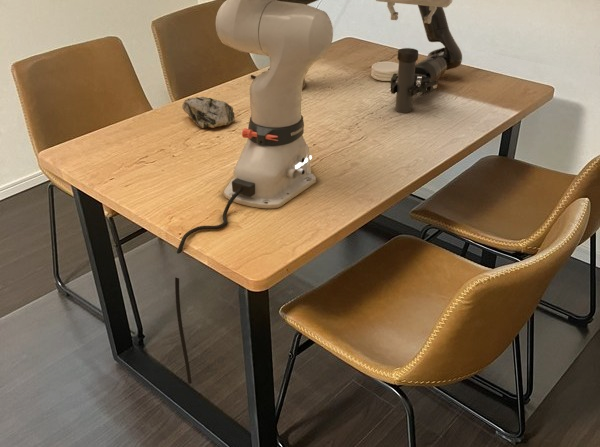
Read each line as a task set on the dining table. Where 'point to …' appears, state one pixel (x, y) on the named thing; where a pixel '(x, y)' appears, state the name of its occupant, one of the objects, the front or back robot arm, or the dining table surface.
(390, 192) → the dining table surface
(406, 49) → the lid
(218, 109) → the rock
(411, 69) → the brown cylindrical canister
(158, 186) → the dining table surface
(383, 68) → the cream short cylinder
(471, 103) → the dining table surface
